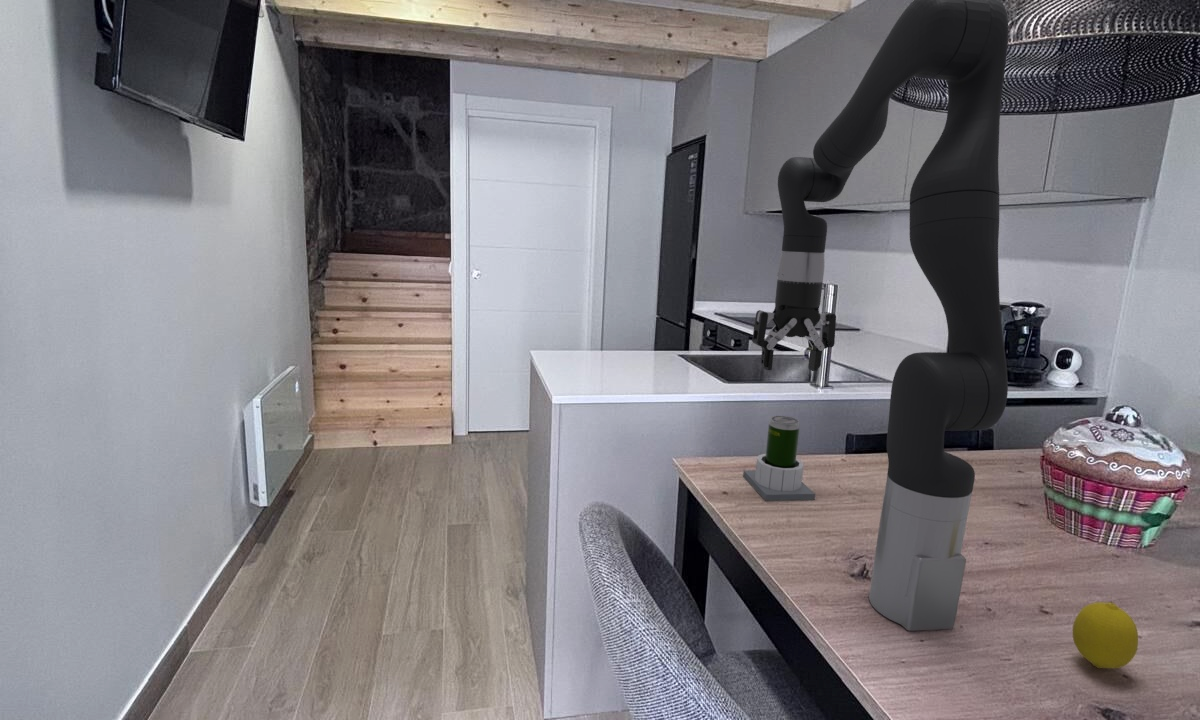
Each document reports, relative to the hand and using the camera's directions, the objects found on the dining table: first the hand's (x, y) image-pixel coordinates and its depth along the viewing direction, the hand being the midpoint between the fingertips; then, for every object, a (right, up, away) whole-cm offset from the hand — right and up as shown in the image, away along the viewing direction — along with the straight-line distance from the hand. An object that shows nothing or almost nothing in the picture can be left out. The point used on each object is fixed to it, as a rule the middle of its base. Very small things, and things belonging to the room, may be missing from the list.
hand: (790, 369), depth 109 cm
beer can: (-1, -21, +4) cm, 22 cm away
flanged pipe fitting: (-1, -22, +5) cm, 23 cm away
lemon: (+22, -33, -40) cm, 57 cm away
